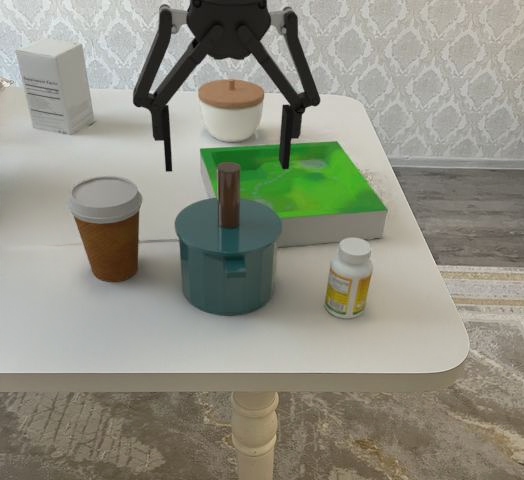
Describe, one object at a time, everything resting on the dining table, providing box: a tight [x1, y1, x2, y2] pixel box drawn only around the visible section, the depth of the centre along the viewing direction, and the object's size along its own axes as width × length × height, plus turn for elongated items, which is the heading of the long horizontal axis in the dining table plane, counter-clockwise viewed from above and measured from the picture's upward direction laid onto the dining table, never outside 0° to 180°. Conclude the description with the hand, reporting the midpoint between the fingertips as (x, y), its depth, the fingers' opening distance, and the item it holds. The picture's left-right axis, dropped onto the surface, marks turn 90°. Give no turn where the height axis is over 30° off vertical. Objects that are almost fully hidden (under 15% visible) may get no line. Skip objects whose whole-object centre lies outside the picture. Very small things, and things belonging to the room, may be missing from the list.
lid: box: [174, 162, 282, 256], centre depth 72 cm, size 14×14×9 cm
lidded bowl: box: [197, 78, 265, 143], centre depth 115 cm, size 13×13×11 cm
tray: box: [199, 140, 389, 248], centre depth 97 cm, size 25×25×5 cm
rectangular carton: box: [15, 37, 95, 136], centre depth 114 cm, size 9×9×15 cm
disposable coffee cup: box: [66, 175, 143, 283], centre depth 79 cm, size 10×10×12 cm
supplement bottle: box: [324, 238, 374, 319], centre depth 76 cm, size 5×5×10 cm
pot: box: [178, 238, 279, 317], centre depth 78 cm, size 13×18×10 cm
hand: (226, 165), depth 70 cm, fingers open, 13 cm apart
